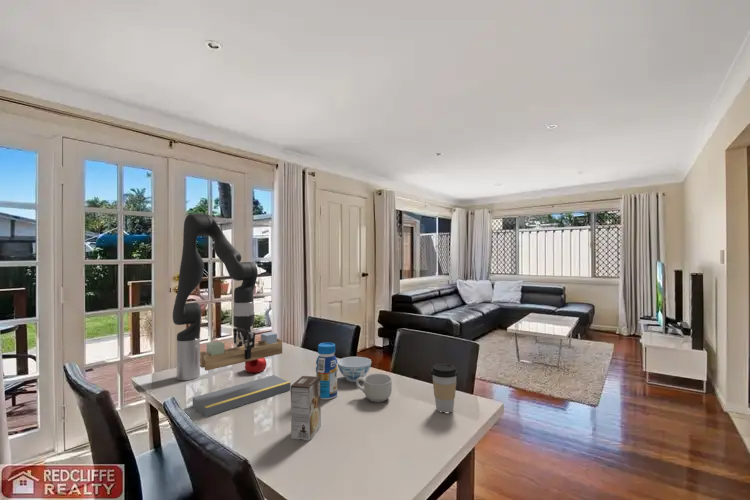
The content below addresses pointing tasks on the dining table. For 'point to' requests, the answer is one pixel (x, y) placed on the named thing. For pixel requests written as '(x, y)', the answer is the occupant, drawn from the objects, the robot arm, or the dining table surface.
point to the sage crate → (215, 348)
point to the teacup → (376, 386)
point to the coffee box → (305, 407)
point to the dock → (239, 395)
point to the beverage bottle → (327, 370)
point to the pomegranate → (255, 365)
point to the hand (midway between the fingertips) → (243, 357)
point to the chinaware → (354, 367)
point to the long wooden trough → (239, 355)
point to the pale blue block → (269, 337)
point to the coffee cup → (444, 386)
